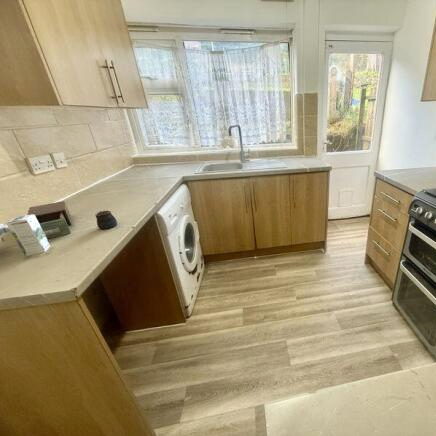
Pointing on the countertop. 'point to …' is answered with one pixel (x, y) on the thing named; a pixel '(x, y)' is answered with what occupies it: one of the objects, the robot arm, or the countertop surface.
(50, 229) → the drawer
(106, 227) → the mate gourd
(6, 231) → the robot arm
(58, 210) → the cabinet
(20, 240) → the syrup box
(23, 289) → the countertop surface
